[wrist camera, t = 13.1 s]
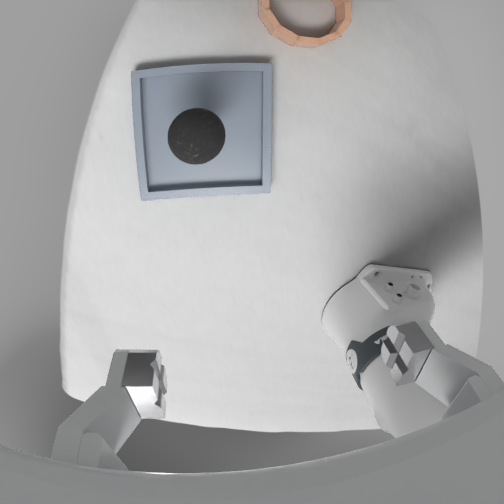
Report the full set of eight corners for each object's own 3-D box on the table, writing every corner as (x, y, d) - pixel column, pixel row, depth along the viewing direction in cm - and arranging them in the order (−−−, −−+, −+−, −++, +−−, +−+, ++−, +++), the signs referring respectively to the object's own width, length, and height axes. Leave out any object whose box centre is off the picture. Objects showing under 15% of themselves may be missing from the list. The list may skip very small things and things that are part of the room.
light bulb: (227, 146, 36) (231, 163, 27) (181, 156, 36) (170, 176, 27) (218, 101, 33) (220, 103, 24) (171, 111, 33) (157, 117, 24)
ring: (340, -18, 27) (349, -24, 24) (341, 51, 32) (351, 49, 29) (258, -29, 26) (262, -37, 23) (258, 44, 31) (262, 39, 28)
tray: (269, 64, 32) (272, 63, 31) (267, 188, 40) (270, 193, 38) (134, 72, 30) (131, 71, 29) (143, 196, 38) (141, 200, 36)
